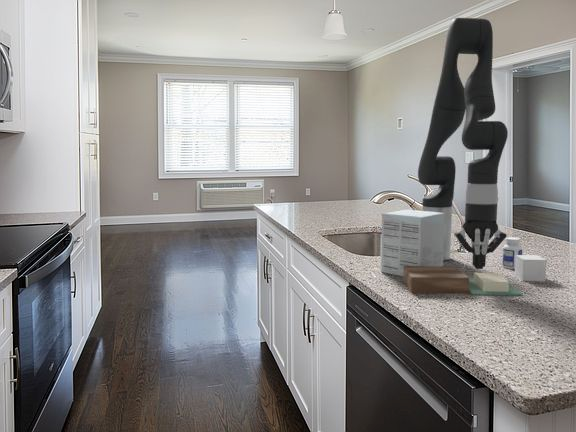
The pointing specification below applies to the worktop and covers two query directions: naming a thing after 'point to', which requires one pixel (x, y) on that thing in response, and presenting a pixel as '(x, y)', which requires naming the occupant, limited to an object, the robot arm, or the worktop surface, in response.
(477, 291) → the green mat
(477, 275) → the cream tile
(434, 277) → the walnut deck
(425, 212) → the supplement box
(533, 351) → the worktop surface
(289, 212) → the worktop surface
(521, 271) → the white cube
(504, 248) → the pill bottle
